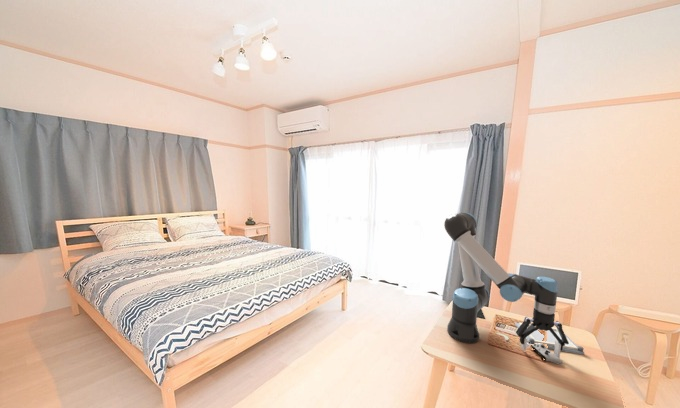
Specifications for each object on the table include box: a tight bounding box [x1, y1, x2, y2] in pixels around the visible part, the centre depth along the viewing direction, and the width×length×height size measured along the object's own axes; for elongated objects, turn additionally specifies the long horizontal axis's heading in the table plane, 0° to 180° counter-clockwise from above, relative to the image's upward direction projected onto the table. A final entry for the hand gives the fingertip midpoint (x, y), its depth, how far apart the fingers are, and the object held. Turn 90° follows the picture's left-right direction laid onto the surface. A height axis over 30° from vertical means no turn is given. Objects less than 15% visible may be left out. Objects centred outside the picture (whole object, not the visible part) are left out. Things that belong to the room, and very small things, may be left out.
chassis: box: [514, 322, 585, 355], centre depth 123 cm, size 22×18×3 cm
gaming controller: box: [531, 344, 563, 365], centre depth 111 cm, size 11×6×7 cm
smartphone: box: [477, 308, 486, 320], centre depth 148 cm, size 7×1×15 cm
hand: (539, 352), depth 111 cm, fingers open, 13 cm apart
